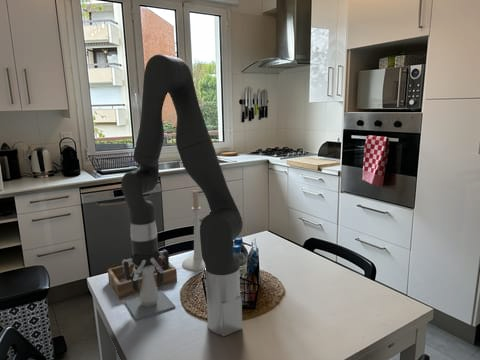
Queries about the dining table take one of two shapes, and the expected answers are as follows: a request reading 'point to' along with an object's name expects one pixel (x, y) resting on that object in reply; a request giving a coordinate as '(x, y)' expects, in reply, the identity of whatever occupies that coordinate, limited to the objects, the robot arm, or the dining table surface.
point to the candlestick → (195, 240)
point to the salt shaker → (148, 287)
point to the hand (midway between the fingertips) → (148, 286)
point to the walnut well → (126, 287)
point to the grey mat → (144, 312)
